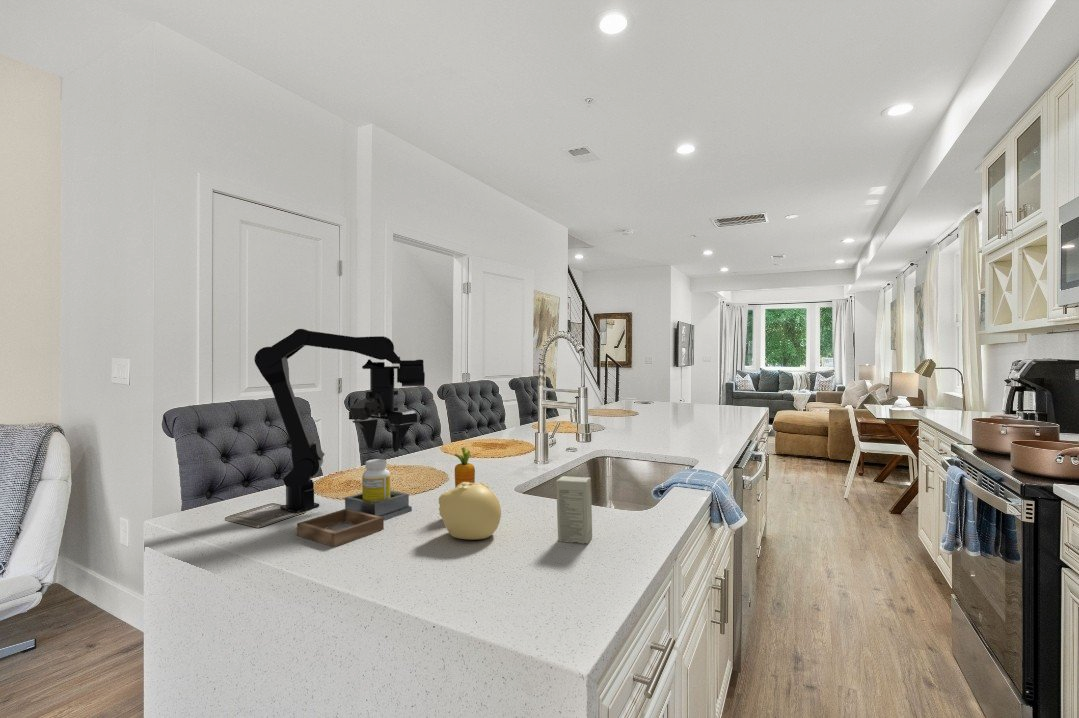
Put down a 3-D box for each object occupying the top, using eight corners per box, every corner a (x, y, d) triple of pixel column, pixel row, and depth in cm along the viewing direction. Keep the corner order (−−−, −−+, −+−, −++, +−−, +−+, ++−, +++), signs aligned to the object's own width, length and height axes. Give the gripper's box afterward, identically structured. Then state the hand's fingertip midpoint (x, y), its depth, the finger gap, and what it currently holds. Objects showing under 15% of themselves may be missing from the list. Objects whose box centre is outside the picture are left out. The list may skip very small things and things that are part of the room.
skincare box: (592, 537, 107) (592, 477, 107) (587, 545, 103) (587, 482, 103) (562, 534, 110) (562, 474, 109) (555, 541, 105) (555, 479, 105)
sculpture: (475, 522, 117) (475, 473, 117) (512, 535, 109) (511, 483, 108) (431, 535, 109) (430, 482, 109) (466, 550, 101) (466, 493, 100)
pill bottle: (379, 503, 128) (378, 457, 128) (396, 507, 125) (395, 460, 124) (356, 509, 123) (356, 461, 123) (374, 514, 120) (373, 465, 119)
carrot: (471, 516, 121) (471, 450, 121) (450, 515, 122) (450, 449, 122) (478, 510, 126) (478, 446, 126) (458, 508, 127) (458, 445, 127)
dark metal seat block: (341, 515, 122) (341, 497, 122) (379, 503, 131) (379, 487, 131) (374, 523, 116) (374, 505, 116) (411, 510, 126) (411, 493, 125)
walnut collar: (297, 535, 109) (296, 523, 109) (346, 519, 119) (346, 508, 119) (334, 547, 102) (334, 534, 102) (383, 529, 113) (383, 517, 112)
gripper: (330, 387, 131) (330, 451, 131) (383, 390, 121) (383, 459, 121) (366, 385, 140) (367, 444, 140) (418, 387, 130) (418, 451, 130)
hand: (382, 449), depth 133 cm, fingers open, 9 cm apart
